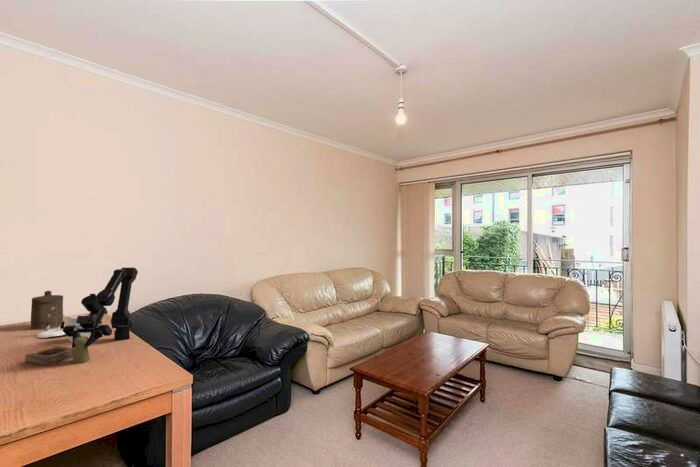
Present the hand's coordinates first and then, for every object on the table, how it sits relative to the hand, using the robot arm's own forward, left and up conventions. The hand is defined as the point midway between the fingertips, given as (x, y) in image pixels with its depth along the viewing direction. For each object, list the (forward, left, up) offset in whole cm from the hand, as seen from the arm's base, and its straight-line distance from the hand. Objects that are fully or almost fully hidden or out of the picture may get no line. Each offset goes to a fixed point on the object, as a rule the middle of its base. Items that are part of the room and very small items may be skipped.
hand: (79, 347), depth 150 cm
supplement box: (+3, -42, -7) cm, 43 cm away
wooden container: (+21, -86, -7) cm, 89 cm away
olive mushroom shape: (-1, -1, -7) cm, 7 cm away
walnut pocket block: (+10, -11, -7) cm, 17 cm away
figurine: (+13, -61, -7) cm, 63 cm away
